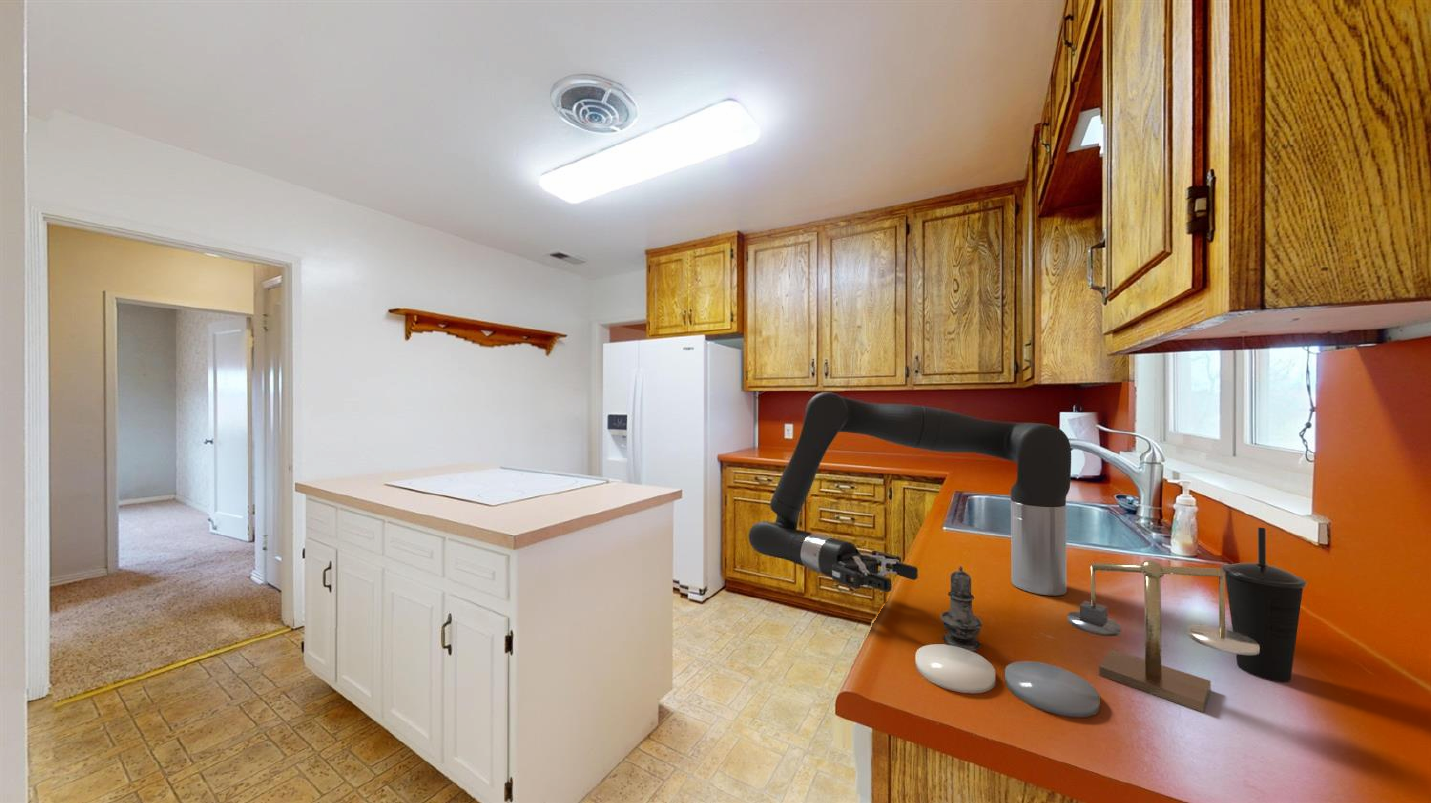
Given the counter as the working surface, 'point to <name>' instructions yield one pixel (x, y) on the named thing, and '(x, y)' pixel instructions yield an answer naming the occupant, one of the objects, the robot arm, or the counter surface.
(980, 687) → the cream dish
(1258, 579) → the drinking cup
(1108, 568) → the brass balance
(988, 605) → the counter surface
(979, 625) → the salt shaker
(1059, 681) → the slate-grey dish
